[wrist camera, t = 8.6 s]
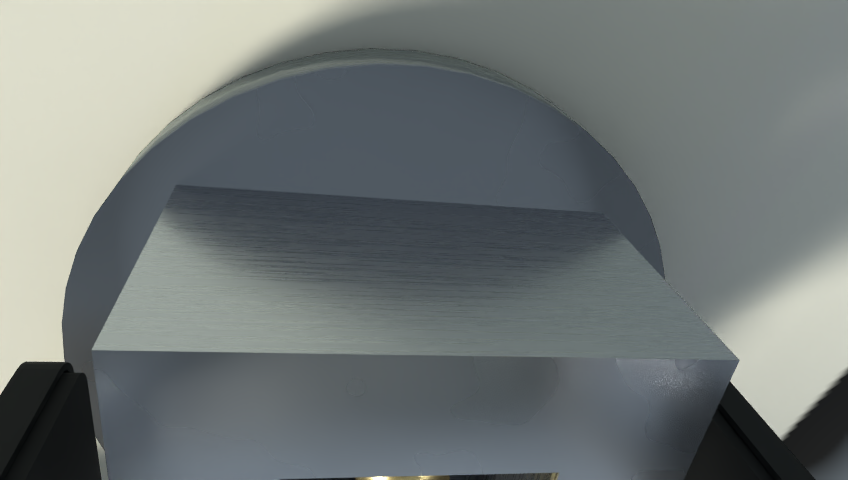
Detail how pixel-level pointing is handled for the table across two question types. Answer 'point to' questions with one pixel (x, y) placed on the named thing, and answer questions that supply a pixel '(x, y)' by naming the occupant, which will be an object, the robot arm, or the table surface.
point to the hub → (352, 161)
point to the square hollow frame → (398, 346)
